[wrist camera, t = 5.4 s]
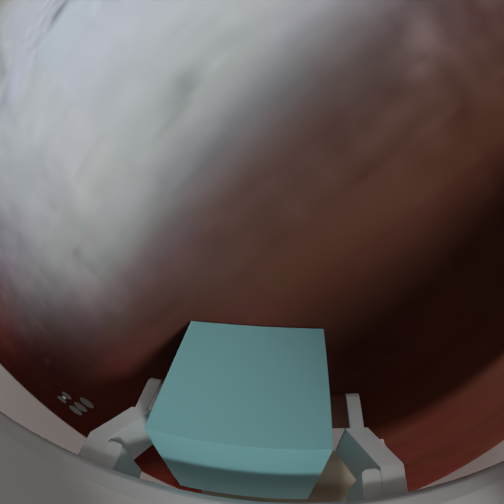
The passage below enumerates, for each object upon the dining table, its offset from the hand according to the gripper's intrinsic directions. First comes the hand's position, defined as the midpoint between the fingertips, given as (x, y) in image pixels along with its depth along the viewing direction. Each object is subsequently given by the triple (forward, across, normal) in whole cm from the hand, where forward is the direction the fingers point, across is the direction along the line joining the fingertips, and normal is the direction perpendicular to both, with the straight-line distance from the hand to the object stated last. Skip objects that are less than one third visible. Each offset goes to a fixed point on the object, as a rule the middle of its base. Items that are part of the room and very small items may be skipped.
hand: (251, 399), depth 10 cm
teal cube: (+2, 0, 0) cm, 2 cm away
